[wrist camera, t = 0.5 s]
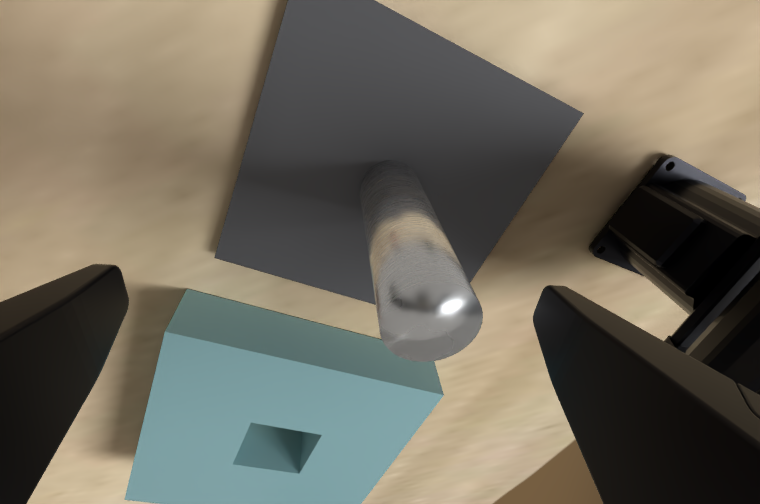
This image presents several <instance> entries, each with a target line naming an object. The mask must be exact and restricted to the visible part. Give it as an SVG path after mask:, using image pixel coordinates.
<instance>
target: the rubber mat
mask: <svg viewBox="0 0 760 504" xmlns="http://www.w3.org/2000/svg"><path fill="white" fill-rule="evenodd" d="M583 114H584V113H582V112H580V111H578V110H576V109H575V108H573V107H571V106H569V105H567V104H565V103H563V102H562V101H560V100H558V99H556V98H554V97H552V96H551V95H549V94H547V93H545V92H543V91H541V90H539V89H538V88H536V87H534V86H532V85H530V84H528V83H526V82H525V81H523V80H521V79H519V78H517V77H515V76H513V75H512V74H510V73H508V72H506V71H504V70H502V69H501V68H499V67H497V66H495V65H493V64H491V63H489V62H488V61H486V60H484V59H482V58H480V57H478V56H476V55H475V54H473V53H471V52H469V51H467V50H465V49H463V48H462V47H460V46H458V45H456V44H454V43H452V42H451V41H449V40H447V39H445V38H443V37H441V36H439V35H438V34H436V33H434V32H432V31H430V30H428V29H426V28H425V27H423V26H421V25H419V24H417V23H415V22H413V21H412V20H410V19H408V18H406V17H404V16H402V15H401V14H399V13H397V12H395V11H393V10H391V9H389V8H388V7H386V6H384V5H382V4H380V3H378V2H376V1H375V0H288V2H287V5H286V9H285V12H284V16H283V20H282V23H281V27H280V30H279V34H278V37H277V41H276V44H275V48H274V51H273V55H272V58H271V62H270V65H269V69H268V72H267V76H266V79H265V83H264V86H263V90H262V93H261V97H260V100H259V104H258V107H257V111H256V114H255V118H254V121H253V125H252V128H251V132H250V135H249V139H248V142H247V146H246V149H245V153H244V156H243V160H242V163H241V167H240V170H239V174H238V177H237V181H236V184H235V188H234V191H233V195H232V198H231V202H230V205H229V209H228V212H227V216H226V219H225V223H224V226H223V230H222V233H221V237H220V240H219V244H218V247H217V251H216V254H215V258H217V259H220V260H223V261H227V262H230V263H234V264H237V265H241V266H244V267H248V268H251V269H254V270H258V271H261V272H265V273H268V274H272V275H275V276H279V277H282V278H286V279H289V280H292V281H296V282H299V283H303V284H306V285H310V286H313V287H317V288H320V289H323V290H327V291H330V292H334V293H337V294H341V295H344V296H348V297H351V298H355V299H358V300H361V301H365V302H368V303H372V304H375V305H376V301H375V294H374V287H373V280H372V274H371V267H370V260H369V253H368V246H367V239H366V232H365V225H364V219H363V212H362V205H361V198H360V183H361V180H362V178H363V176H364V174H365V173H366V172H367V171H368V170H369V169H370V168H371V167H372V166H374V165H375V164H377V163H380V162H383V161H389V160H393V161H399V162H402V163H404V164H406V165H408V166H409V167H410V168H411V169H412V170H413V171H414V172H415V174H416V176H417V178H418V180H419V182H420V184H421V186H422V188H423V190H424V192H425V194H426V196H427V198H428V200H429V202H430V204H431V206H432V208H433V210H434V212H435V214H436V216H437V218H438V220H439V222H440V224H441V226H442V228H443V230H444V232H445V234H446V236H447V238H448V240H449V242H450V244H451V246H452V248H453V250H454V252H455V254H456V256H457V258H458V260H459V262H460V264H461V266H462V268H463V270H464V272H465V274H466V277H467V279H468V281H469V283H470V282H471V280H472V279H473V277H474V276H475V274H476V273H477V271H478V270H479V268H480V267H481V265H482V264H483V263H484V261H485V260H486V258H487V257H488V255H489V254H490V252H491V251H492V249H493V248H494V246H495V245H496V243H497V242H498V240H499V239H500V237H501V236H502V234H503V233H504V231H505V230H506V228H507V227H508V225H509V224H510V222H511V221H512V219H513V218H514V216H515V215H516V213H517V212H518V210H519V209H520V208H521V206H522V205H523V203H524V202H525V200H526V199H527V197H528V196H529V194H530V193H531V191H532V190H533V188H534V187H535V185H536V184H537V182H538V181H539V179H540V178H541V176H542V175H543V173H544V172H545V170H546V169H547V167H548V166H549V164H550V163H551V161H552V160H553V158H554V157H555V155H556V154H557V153H558V151H559V150H560V148H561V147H562V145H563V144H564V142H565V141H566V139H567V138H568V136H569V135H570V133H571V132H572V130H573V129H574V127H575V126H576V124H577V123H578V121H579V120H580V118H581V117H582V115H583Z"/></svg>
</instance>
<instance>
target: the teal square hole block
mask: <svg viewBox="0 0 760 504" xmlns="http://www.w3.org/2000/svg"><path fill="white" fill-rule="evenodd" d="M443 395H444V394H443V391H442V387H441V384H440V380H439V377H438V373H437V370H436V366H435V363H434V361H429V362H417V361H411V360H407V359H403V358H401V357H399V356H397V355H395V354H394V353H392V352H391V351H390V350H389V349H388V348H387V347H386V346H385V344H384V343H383V341H382V340H381V339H377V338H373V337H369V336H366V335H362V334H358V333H354V332H350V331H346V330H343V329H339V328H335V327H331V326H327V325H324V324H320V323H316V322H312V321H308V320H305V319H301V318H297V317H293V316H289V315H285V314H282V313H278V312H274V311H270V310H266V309H263V308H259V307H255V306H251V305H247V304H243V303H240V302H236V301H232V300H228V299H224V298H221V297H217V296H213V295H209V294H205V293H202V292H198V291H194V290H190V289H187V290H186V292H185V294H184V296H183V298H182V299H181V301H180V303H179V305H178V307H177V309H176V311H175V313H174V315H173V317H172V319H171V321H170V323H169V325H168V327H167V328H166V330H165V333H164V337H163V342H162V346H161V350H160V354H159V358H158V362H157V367H156V371H155V375H154V379H153V383H152V387H151V392H150V396H149V400H148V404H147V408H146V412H145V417H144V421H143V425H142V429H141V433H140V437H139V442H138V446H137V450H136V454H135V458H134V462H133V467H132V471H131V475H130V479H129V483H128V487H127V492H126V496H125V500H132V501H141V502H150V503H160V504H361V503H362V502H363V501H364V499H365V498H366V497H367V495H368V494H369V493H370V491H371V490H372V489H373V488H374V486H375V485H376V484H377V482H378V481H379V480H380V478H381V477H382V476H383V474H384V473H385V472H386V470H387V469H388V468H389V466H390V465H391V464H392V463H393V461H394V460H395V459H396V457H397V456H398V455H399V453H400V452H401V451H402V449H403V448H404V447H405V445H406V444H407V443H408V441H409V440H410V439H411V438H412V436H413V435H414V434H415V432H416V431H417V430H418V428H419V427H420V426H421V424H422V423H423V422H424V420H425V419H426V418H427V416H428V415H429V414H430V413H431V411H432V410H433V409H434V407H435V406H436V405H437V403H438V402H439V401H440V399H441V398H442V397H443Z"/></svg>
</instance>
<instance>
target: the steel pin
mask: <svg viewBox="0 0 760 504" xmlns="http://www.w3.org/2000/svg"><path fill="white" fill-rule="evenodd" d="M360 198H361V205H362V212H363V219H364V225H365V232H366V239H367V246H368V253H369V260H370V267H371V274H372V280H373V287H374V294H375V301H376V308H377V315H378V322H379V329H380V334H381V338H382V341H383V343H384V344H385V346H386V347H387V348H388V349H389V350H390V351H391V352H392V353H394V354H395V355H397V356H399V357H401V358H403V359H407V360H411V361H417V362H429V361H436V360H441V359H444V358H447V357H449V356H452V355H454V354H456V353H458V352H459V351H461V350H462V349H464V348H465V347H466V346H468V345H469V344H470V343H471V342H472V340H473V339H474V338H475V337H476V335H477V334H478V332H479V330H480V328H481V324H482V319H483V312H482V308H481V305H480V303H479V301H478V299H477V297H476V295H475V293H474V291H473V289H472V287H471V285H470V283H469V281H468V279H467V277H466V274H465V272H464V270H463V268H462V266H461V264H460V262H459V260H458V258H457V256H456V254H455V252H454V250H453V248H452V246H451V244H450V242H449V240H448V238H447V236H446V234H445V232H444V230H443V228H442V226H441V224H440V222H439V220H438V218H437V216H436V214H435V212H434V210H433V208H432V206H431V204H430V202H429V200H428V198H427V196H426V194H425V192H424V190H423V188H422V186H421V184H420V182H419V180H418V178H417V176H416V174H415V172H414V171H413V170H412V169H411V168H410V167H409V166H408V165H406V164H404V163H402V162H399V161H393V160H389V161H383V162H380V163H377V164H375V165H374V166H372V167H371V168H370V169H369V170H368V171H367V172H366V173H365V174H364V176H363V178H362V180H361V183H360Z"/></svg>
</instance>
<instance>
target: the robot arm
mask: <svg viewBox="0 0 760 504" xmlns="http://www.w3.org/2000/svg"><path fill="white" fill-rule="evenodd" d="M669 162H670V163H669ZM668 163H669V165H668V166H667V167H666V165H667V164H668ZM745 201H746V196H745V195H744V194H743V193H741V192H739V191H737V190H735V189H734V188H732V187H730V186H728V185H726V184H724V183H723V182H721V181H719V180H717V179H715V178H713V177H712V176H710V175H708V174H706V173H704V172H703V171H701V170H699V169H697V168H695V167H693V166H692V165H690V164H688V163H686V162H684V161H682V160H681V159H679V158H677V157H674V156H672V155H665V156H663V157H661V158H660V159H659V160H658V161H657V163H656V164H655V165H654V166H653V168H652V169H651V170H650V171H649V173H648V174H647V175H646V176H645V178H644V179H643V180H642V181H641V183H640V184H639V185H638V186H637V187H636V189H635V190H634V191H633V192H632V194H631V195H630V196H629V197H628V199H627V200H626V201H625V202H624V204H623V205H622V206H621V207H620V209H619V210H618V211H617V212H616V214H615V215H614V216H613V217H612V219H611V220H610V221H609V222H608V223H607V225H606V226H605V227H604V228H603V230H602V231H601V232H600V233H599V235H598V236H597V237H596V238H595V240H594V241H593V242H592V243H591V245H590V247H589V250H590V252H591V253H592V254H593V255H594V256H595V257H598V258H600V259H603V260H605V261H608V262H610V263H613V264H615V265H618V266H620V267H623V268H625V269H628V270H630V271H633V272H635V273H638V274H640V275H643V276H645V277H646V278H647V279H648V280H650V281H651V282H652V283H653V284H654V285H655V286H657V287H658V288H659V289H660V290H661V291H662V292H664V293H665V294H666V295H667V296H668V297H669V298H670V299H672V300H673V301H674V302H675V303H676V304H677V305H679V306H680V307H681V308H682V309H683V310H684V311H686V312H687V313H688V314H689V316H688V318H687V319H686V320H685V321H684V322H683V323H682V324H681V326H680V327H679V328H678V329H677V330H676V331H675V332H674V334H673V335H672V336H668V337H667V338H666V340H665V341H662V340H660V339H658V338H657V337H655V336H653V335H651V334H649V333H648V332H646V331H644V330H642V329H641V328H639V327H637V326H635V325H633V324H632V323H630V322H628V321H626V320H625V319H623V318H621V317H619V316H617V315H616V314H614V313H612V312H610V311H608V310H607V309H605V308H603V307H601V306H600V305H598V304H596V303H594V302H592V301H591V300H589V299H587V298H585V297H583V296H582V295H580V294H578V293H576V292H575V291H573V290H571V289H569V288H567V287H565V286H553V285H549V286H546V287H545V288H544V289H543V291H542V294H541V296H540V299H539V301H538V304H537V306H536V309H535V311H534V315H533V323H534V327H535V330H536V334H537V337H538V340H539V343H540V347H541V350H542V353H543V356H544V360H545V363H546V366H547V369H548V373H549V376H550V378H551V381H552V384H553V387H554V389H555V392H556V394H557V396H558V399H559V401H560V403H561V406H562V408H563V410H564V413H565V415H566V417H567V420H568V422H569V424H570V427H571V429H572V431H573V434H574V436H575V438H576V441H577V443H578V445H579V448H580V450H581V452H582V455H583V457H584V459H585V461H586V464H587V466H588V469H589V471H590V473H591V476H592V478H593V480H594V483H595V485H596V487H597V490H598V492H599V494H600V497H601V499H602V501H603V504H760V208H758V207H756V206H754V205H752V204H749V203H747V202H745ZM599 247H601V248H600V249H598V248H599ZM597 249H598V250H597ZM128 305H129V298H128V294H127V290H126V287H125V283H124V280H123V276H122V272H121V270H120V269H119V267H117V266H116V265H105V264H93V265H90V266H88V267H85V268H83V269H81V270H78V271H76V272H73V273H71V274H68V275H66V276H63V277H61V278H59V279H56V280H54V281H51V282H49V283H46V284H44V285H41V286H39V287H37V288H34V289H32V290H29V291H27V292H24V293H22V294H19V295H17V296H15V297H12V298H10V299H7V300H5V301H2V302H0V504H26V503H27V502H28V500H29V498H30V496H31V495H32V493H33V491H34V489H35V488H36V486H37V484H38V482H39V481H40V479H41V477H42V475H43V474H44V472H45V470H46V468H47V467H48V465H49V463H50V461H51V460H52V458H53V456H54V454H55V452H56V451H57V449H58V447H59V445H60V444H61V442H62V440H63V438H64V437H65V435H66V433H67V431H68V430H69V428H70V426H71V424H72V423H73V421H74V419H75V417H76V416H77V414H78V412H79V410H80V409H81V407H82V405H83V403H84V402H85V400H86V398H87V396H88V395H89V393H90V391H91V389H92V387H93V386H94V384H95V382H96V380H97V378H98V376H99V374H100V372H101V370H102V368H103V366H104V364H105V361H106V359H107V357H108V354H109V352H110V350H111V347H112V345H113V343H114V340H115V338H116V336H117V333H118V331H119V328H120V326H121V324H122V321H123V319H124V317H125V314H126V312H127V309H128Z"/></svg>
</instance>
